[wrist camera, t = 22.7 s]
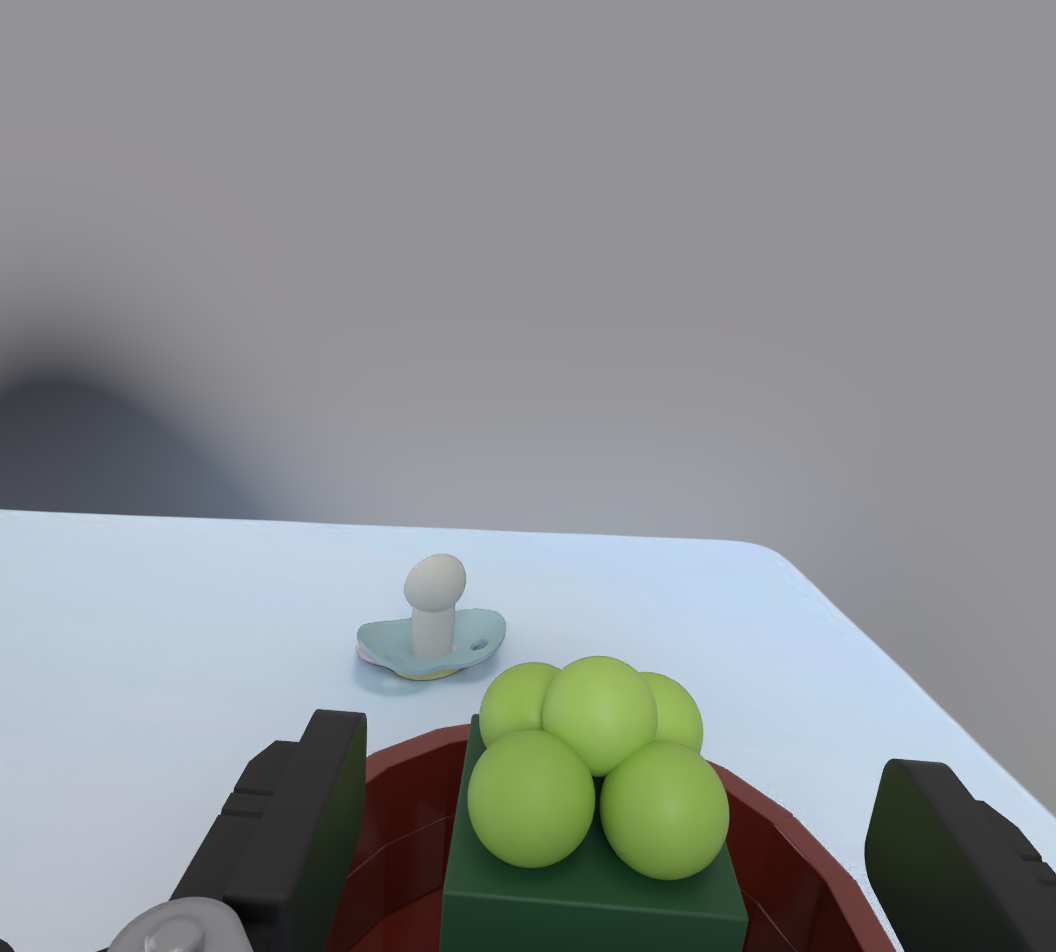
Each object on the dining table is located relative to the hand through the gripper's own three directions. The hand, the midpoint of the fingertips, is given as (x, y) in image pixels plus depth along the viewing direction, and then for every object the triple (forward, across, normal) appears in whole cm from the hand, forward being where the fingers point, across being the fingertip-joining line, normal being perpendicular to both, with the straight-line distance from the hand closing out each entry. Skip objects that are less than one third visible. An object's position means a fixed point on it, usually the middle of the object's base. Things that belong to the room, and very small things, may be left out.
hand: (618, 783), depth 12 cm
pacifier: (+24, +6, +13) cm, 28 cm away
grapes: (+4, 0, +12) cm, 13 cm away
